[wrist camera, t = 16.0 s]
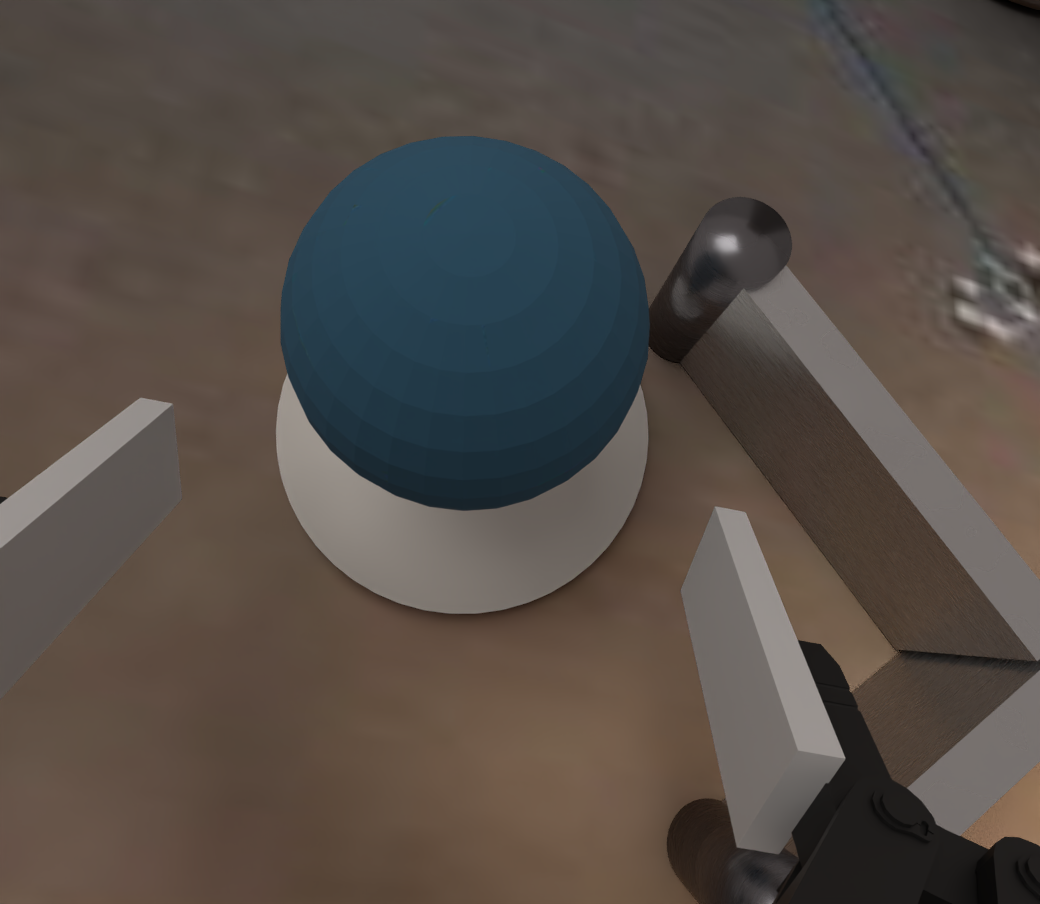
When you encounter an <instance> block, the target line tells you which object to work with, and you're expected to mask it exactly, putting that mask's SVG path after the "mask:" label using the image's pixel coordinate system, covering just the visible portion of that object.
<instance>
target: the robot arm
mask: <svg viewBox="0 0 1040 904" xmlns="http://www.w3.org/2000/svg"><path fill="white" fill-rule="evenodd" d="M181 500H182V491H181V481H180V471H179V460H178V450H177V440H176V429H175V419H174V409H173V404H171V403H166V402H160V401H155V400H150V399H144V398H139V399H138V400H137V401H135V402H134V403H133V404H131V405H130V406H129V407H127V408H126V409H125V410H124V411H122V412H121V413H120V414H118V415H117V416H116V417H114V418H113V419H112V420H110V421H109V422H108V423H106V424H105V425H104V426H102V427H101V428H100V429H99V430H97V431H96V432H95V433H93V434H92V435H91V436H89V437H88V438H87V439H85V440H84V441H83V442H81V443H80V444H79V445H77V446H76V447H75V448H73V449H72V450H71V451H70V452H68V453H67V454H66V455H64V456H63V457H62V458H60V459H59V460H58V461H56V462H55V463H54V464H52V465H51V466H50V467H48V468H47V469H46V470H44V471H43V472H42V473H41V474H39V475H38V476H37V477H35V478H34V479H33V480H31V481H30V482H29V483H27V484H26V485H25V486H23V487H22V488H21V489H19V490H18V491H17V492H16V493H14V494H13V495H12V496H10V497H9V498H6V497H0V700H1V699H2V697H3V696H4V695H5V694H6V693H7V692H8V691H9V690H10V689H11V687H12V686H13V685H14V684H15V683H16V682H17V681H18V680H19V679H20V678H21V676H22V675H23V674H24V673H25V672H26V671H27V670H28V669H29V668H30V666H31V665H32V664H33V663H34V662H35V661H36V660H37V659H38V658H39V657H40V655H41V654H42V653H43V652H44V651H45V650H46V649H47V648H48V647H49V646H50V644H51V643H52V642H53V641H54V640H55V639H56V638H57V637H58V636H59V634H60V633H61V632H62V631H63V630H64V629H65V628H66V627H67V626H68V625H69V623H70V622H71V621H72V620H73V619H74V618H75V617H76V616H77V615H78V613H79V612H80V611H81V610H82V609H83V608H84V607H85V606H86V605H87V604H88V602H89V601H90V600H91V599H92V598H93V597H94V596H95V595H96V594H97V593H98V591H99V590H100V589H101V588H102V587H103V586H104V585H105V584H106V583H107V581H108V580H109V579H110V578H111V577H112V576H113V575H114V574H115V573H116V572H117V570H118V569H119V568H120V567H121V566H122V565H123V564H124V563H125V562H126V560H127V559H128V558H129V557H130V556H131V555H132V554H133V553H134V552H135V551H136V549H137V548H138V547H139V546H140V545H141V544H142V543H143V542H144V541H145V539H146V538H147V537H148V536H149V535H150V534H151V533H152V532H153V531H154V530H155V528H156V527H157V526H158V525H159V524H160V523H161V522H162V521H163V520H164V519H165V517H166V516H167V515H168V514H169V513H170V512H171V511H172V510H173V509H174V507H175V506H176V505H177V504H178V503H179V502H180V501H181ZM681 595H682V600H683V604H684V609H685V613H686V618H687V622H688V627H689V632H690V636H691V641H692V645H693V650H694V654H695V659H696V664H697V668H698V673H699V677H700V682H701V686H702V691H703V696H704V700H705V705H706V709H707V714H708V718H709V723H710V727H711V732H712V737H713V741H714V746H715V750H716V755H717V759H718V764H719V769H720V773H721V778H722V782H723V787H724V791H725V796H726V801H727V805H728V810H729V814H730V819H731V823H732V828H733V833H734V837H735V842H736V846H737V847H738V848H744V849H750V850H756V851H762V852H767V853H773V854H779V853H780V852H781V851H782V849H783V848H784V846H785V845H786V843H787V842H788V841H789V839H790V838H791V836H793V840H794V843H795V846H796V850H797V853H798V857H799V860H798V861H797V863H796V864H795V866H794V867H793V868H792V870H791V871H790V872H789V874H788V875H787V876H786V878H785V879H784V881H783V882H782V883H781V885H780V886H779V887H778V889H777V890H776V891H777V892H778V894H777V896H776V898H775V900H774V901H773V903H772V904H1040V846H1038V845H1037V844H1034V843H1032V842H1029V841H1027V840H1024V839H1022V838H1019V837H1004V838H1002V839H1001V840H999V841H998V842H996V843H995V844H994V845H993V846H992V847H991V848H990V849H987V848H984V847H982V846H980V845H978V844H976V843H974V842H972V841H969V840H967V839H965V838H963V837H961V836H959V835H956V834H954V833H952V832H950V831H948V830H946V829H944V828H942V827H940V826H938V825H937V824H936V822H935V820H934V817H933V816H932V814H931V813H930V812H929V810H928V809H927V808H926V806H925V805H924V803H923V802H922V801H921V800H920V799H919V798H918V797H916V796H915V795H914V794H913V793H912V792H911V791H910V790H909V789H907V788H906V787H904V786H902V785H901V784H899V783H897V782H895V781H894V780H892V779H891V777H890V774H889V772H888V770H887V768H886V766H885V764H884V761H883V759H882V757H881V755H880V753H879V751H878V748H877V746H876V744H875V742H874V740H873V737H872V735H871V733H870V731H869V729H868V727H867V724H866V722H865V720H864V718H863V716H862V714H861V711H858V705H857V703H856V700H855V698H854V696H853V694H852V693H851V692H850V691H849V689H850V687H849V685H848V683H847V681H846V679H845V677H844V674H843V672H842V670H841V668H840V666H839V665H838V663H837V662H836V661H835V660H834V659H833V658H832V657H831V655H830V654H829V653H828V652H827V651H826V650H825V649H824V647H823V646H822V645H821V644H816V643H810V642H805V641H799V640H797V638H796V635H795V633H794V630H793V628H792V625H791V623H790V620H789V618H788V616H787V613H786V611H785V608H784V606H783V603H782V601H781V598H780V596H779V593H778V591H777V588H776V586H775V584H774V581H773V579H772V576H771V574H770V571H769V569H768V566H767V564H766V561H765V559H764V556H763V554H762V552H761V549H760V547H759V544H758V542H757V539H756V537H755V534H754V532H753V529H752V527H751V524H750V522H749V520H748V517H747V515H746V512H742V511H737V510H732V509H726V508H721V507H716V506H715V507H714V510H713V512H712V515H711V517H710V520H709V522H708V524H707V527H706V529H705V532H704V534H703V537H702V539H701V542H700V544H699V546H698V549H697V551H696V554H695V556H694V559H693V561H692V564H691V566H690V569H689V571H688V573H687V576H686V578H685V581H684V583H683V586H682V588H681Z"/></svg>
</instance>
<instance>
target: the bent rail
mask: <svg viewBox="0 0 1040 904" xmlns="http://www.w3.org/2000/svg"><path fill="white" fill-rule="evenodd" d="M791 250H792V240H791V235H790V231H789V229H788V227H787V225H786V223H785V221H784V220H783V219H782V217H781V216H780V215H779V214H778V213H777V212H776V211H775V210H774V209H772V208H771V207H770V206H768V205H766V204H765V203H763V202H760V201H758V200H755V199H751V198H745V197H735V198H729V199H726V200H723V201H721V202H719V203H717V204H715V205H714V206H713V207H712V208H711V209H710V210H709V211H708V212H707V213H706V215H705V216H704V218H703V220H702V221H701V223H700V225H699V226H698V228H697V230H696V231H695V233H694V235H693V236H692V238H691V240H690V241H689V243H688V245H687V246H686V248H685V250H684V251H683V253H682V255H681V256H680V258H679V260H678V261H677V263H676V265H675V266H674V268H673V270H672V271H671V273H670V275H669V276H668V278H667V280H666V281H665V283H664V285H663V286H662V288H661V289H660V291H659V293H658V294H657V296H656V298H655V299H654V301H653V303H652V304H651V306H650V308H649V321H650V330H649V346H650V347H651V348H652V350H653V351H654V352H656V353H657V354H658V355H659V356H661V357H662V358H664V359H666V360H669V361H672V362H678V363H681V365H682V366H683V367H684V369H685V370H686V371H687V373H688V374H689V375H690V377H691V378H692V379H693V381H694V382H695V383H696V385H697V386H698V387H699V389H700V390H701V391H702V393H703V394H704V395H705V397H706V398H707V399H708V401H709V402H710V403H711V405H712V406H713V407H714V409H715V410H716V411H717V413H718V414H719V415H720V417H721V418H722V419H723V421H724V422H725V423H726V425H727V426H728V427H729V429H730V430H731V431H732V433H733V434H734V435H735V437H736V438H737V439H738V441H739V442H740V443H741V445H742V446H743V447H744V449H745V450H746V451H747V453H748V454H749V455H750V457H751V458H752V459H753V461H754V462H755V463H756V465H757V466H758V467H759V469H760V470H761V471H762V473H763V474H764V475H765V477H766V478H767V479H768V481H769V482H770V483H771V485H772V486H773V487H774V489H775V490H776V491H777V493H778V494H779V495H780V497H781V498H782V499H783V501H784V502H785V503H786V505H787V506H788V507H789V509H790V510H791V511H792V513H793V514H794V515H795V517H796V518H797V519H798V521H799V522H800V523H801V525H802V526H803V527H804V529H805V530H806V531H807V533H808V534H809V535H810V537H811V538H812V539H813V541H814V542H815V543H816V545H817V546H818V547H819V549H820V550H821V551H822V553H823V554H824V555H825V557H826V558H827V559H828V561H829V562H830V563H831V565H832V566H833V567H834V569H835V570H836V571H837V573H838V574H839V575H840V577H841V578H842V579H843V581H844V582H845V583H846V585H847V586H848V587H849V589H850V590H851V591H852V593H853V594H854V595H855V597H856V598H857V599H858V601H859V602H860V603H861V605H862V606H863V607H864V609H865V610H866V611H867V613H868V614H869V615H870V617H871V618H872V619H873V621H874V622H875V623H876V625H877V626H878V627H879V629H880V630H881V631H882V633H883V634H884V635H885V637H886V638H887V639H888V641H889V642H890V643H891V645H892V646H893V647H894V649H896V650H903V651H902V652H901V653H900V654H898V655H897V656H896V657H895V658H894V659H892V660H891V661H890V662H889V663H888V664H886V665H885V666H884V667H883V668H882V669H880V670H879V671H878V672H877V673H876V674H874V675H873V676H872V677H871V678H870V679H868V680H867V681H866V682H865V683H864V684H862V685H861V686H860V687H859V688H857V689H856V690H855V691H854V692H853V693H852V694H853V696H854V698H855V700H856V703H857V705H858V711H861V714H862V716H863V718H864V720H865V722H866V724H867V727H868V729H869V731H870V733H871V735H872V737H873V740H874V742H875V744H876V746H877V748H878V751H879V753H880V755H881V757H882V759H883V761H884V764H885V766H886V768H887V770H888V772H889V774H890V777H891V779H892V780H894V781H895V782H897V783H899V784H901V785H902V786H904V787H906V788H907V789H909V790H910V791H911V792H912V793H913V794H914V795H915V796H916V797H918V798H919V799H920V800H921V801H922V802H923V803H924V805H925V806H926V808H927V809H928V810H929V812H930V813H931V814H932V816H933V817H934V820H935V822H936V824H937V825H938V826H940V827H942V828H944V829H946V830H948V831H950V832H952V833H954V834H956V835H959V836H960V835H961V834H962V833H963V832H965V831H966V830H967V829H968V828H969V827H970V826H971V825H972V824H973V823H974V822H975V821H976V820H977V819H978V818H980V817H981V816H982V815H983V814H984V813H985V812H986V811H987V810H988V809H989V808H990V807H991V806H992V805H994V804H995V803H996V802H997V801H998V800H999V799H1000V798H1001V797H1002V796H1003V795H1004V794H1005V793H1006V792H1007V791H1009V790H1010V789H1011V788H1012V787H1013V786H1014V785H1015V784H1016V783H1017V782H1018V781H1019V780H1020V779H1021V778H1023V777H1024V776H1025V775H1026V774H1027V773H1028V772H1029V771H1030V770H1031V769H1032V768H1033V767H1034V766H1035V765H1036V764H1038V763H1039V762H1040V580H1039V579H1038V578H1037V577H1036V575H1035V574H1034V573H1033V572H1032V570H1031V569H1030V568H1029V567H1028V565H1027V564H1026V563H1025V562H1024V560H1023V559H1022V558H1021V557H1020V555H1019V554H1018V553H1017V552H1016V550H1015V549H1014V548H1013V547H1012V545H1011V544H1010V543H1009V542H1008V541H1007V539H1006V538H1005V537H1004V536H1003V534H1002V533H1001V532H1000V531H999V529H998V528H997V527H996V526H995V524H994V523H993V522H992V521H991V519H990V518H989V517H988V516H987V514H986V513H985V512H984V511H983V509H982V508H981V507H980V506H979V504H978V503H977V502H976V501H975V500H974V498H973V497H972V496H971V495H970V493H969V492H968V491H967V490H966V488H965V487H964V486H963V485H962V483H961V482H960V481H959V480H958V478H957V477H956V476H955V475H954V473H953V472H952V471H951V470H950V468H949V467H948V466H947V465H946V463H945V462H944V461H943V460H942V458H941V457H940V456H939V455H938V454H937V452H936V451H935V450H934V449H933V447H932V446H931V445H930V444H929V442H928V441H927V440H926V439H925V437H924V436H923V435H922V434H921V432H920V431H919V430H918V429H917V427H916V426H915V425H914V424H913V422H912V421H911V420H910V419H909V417H908V416H907V415H906V414H905V413H904V411H903V410H902V409H901V408H900V406H899V405H898V404H897V403H896V401H895V400H894V399H893V398H892V396H891V395H890V394H889V393H888V391H887V390H886V389H885V388H884V386H883V385H882V384H881V383H880V381H879V380H878V379H877V378H876V376H875V375H874V374H873V373H872V372H871V370H870V369H869V368H868V367H867V365H866V364H865V363H864V362H863V360H862V359H861V358H860V357H859V355H858V354H857V353H856V352H855V350H854V349H853V348H852V347H851V345H850V344H849V343H848V342H847V340H846V339H845V338H844V337H843V335H842V334H841V333H840V332H839V331H838V329H837V328H836V327H835V326H834V324H833V323H832V322H831V321H830V319H829V318H828V317H827V316H826V314H825V313H824V312H823V311H822V309H821V308H820V307H819V306H818V304H817V303H816V302H815V301H814V299H813V298H812V297H811V296H810V294H809V293H808V292H807V291H806V289H805V288H804V287H803V286H802V285H801V283H800V282H799V281H798V280H797V278H796V277H795V276H794V275H793V273H792V272H791V271H790V270H789V268H788V267H787V266H786V264H787V262H788V260H789V258H790V255H791ZM667 852H668V857H669V861H670V864H671V866H672V869H673V870H674V872H675V874H676V875H677V877H678V878H679V879H680V881H681V882H682V883H683V884H684V886H685V887H686V888H687V889H688V890H689V892H690V893H691V894H692V895H693V897H694V898H695V899H696V900H697V902H698V903H699V904H772V903H773V901H774V900H775V898H776V896H777V894H778V892H777V891H776V890H777V889H778V887H779V886H780V885H781V883H782V882H783V881H784V879H785V878H786V876H787V875H788V874H789V872H790V871H791V870H792V868H793V867H794V866H795V864H796V863H797V861H798V860H799V857H798V853H797V850H796V846H795V843H794V840H793V836H791V838H790V839H789V841H788V842H787V843H786V845H785V846H784V848H783V849H782V851H781V852H780V853H779V854H773V853H767V852H762V851H756V850H750V849H744V848H738V847H737V846H736V842H735V837H734V833H733V828H732V823H731V819H730V814H729V810H728V805H727V801H726V798H725V799H724V800H722V801H719V800H715V799H699V800H696V801H693V802H691V803H689V804H687V805H686V806H684V807H683V808H682V809H681V810H680V811H679V812H678V813H677V815H676V816H675V818H674V819H673V821H672V823H671V825H670V828H669V832H668V837H667Z"/></svg>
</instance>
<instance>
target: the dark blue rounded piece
mask: <svg viewBox="0 0 1040 904" xmlns="http://www.w3.org/2000/svg"><path fill="white" fill-rule="evenodd" d="M649 330H650V321H649V308H648V301H647V294H646V287H645V280H644V276H643V273H642V270H641V267H640V265H639V262H638V259H637V256H636V254H635V251H634V248H633V246H632V244H631V243H630V241H629V239H628V238H627V236H626V234H625V233H624V231H623V229H622V228H621V226H620V224H619V223H618V221H617V219H616V218H615V216H614V215H613V213H612V211H611V210H610V208H609V207H608V206H607V205H606V204H605V202H604V201H603V200H602V199H601V198H600V197H599V196H598V195H597V193H596V192H595V191H594V190H593V189H592V188H591V187H590V186H589V185H588V184H587V183H586V182H584V181H583V180H582V179H581V178H579V177H578V176H577V175H575V174H574V173H573V172H572V171H570V170H569V169H568V168H566V167H565V166H564V165H562V164H560V163H558V162H556V161H554V160H552V159H550V158H549V157H547V156H545V155H543V154H541V153H539V152H537V151H535V150H532V149H529V148H526V147H523V146H520V145H516V144H513V143H510V142H507V141H502V140H496V139H489V138H482V137H476V136H458V137H439V138H434V139H429V140H423V141H418V142H413V143H409V144H406V145H404V146H401V147H399V148H396V149H393V150H391V151H388V152H385V153H383V154H380V155H379V156H377V157H375V158H374V159H372V160H370V161H369V162H367V163H365V164H364V165H362V166H361V167H359V168H357V169H356V170H354V171H353V172H352V173H351V174H349V175H348V176H347V177H346V178H345V179H344V180H343V181H342V182H341V183H339V184H338V185H337V186H336V187H335V188H334V189H333V190H332V191H331V192H330V193H329V194H328V196H327V197H326V198H325V200H324V201H323V202H322V204H321V205H320V206H319V208H318V209H317V210H316V212H315V213H314V214H313V216H312V217H311V219H310V220H309V222H308V223H307V225H306V226H305V227H304V229H303V231H302V233H301V235H300V237H299V240H298V242H297V244H296V246H295V248H294V250H293V253H292V255H291V257H290V259H289V263H288V267H287V272H286V277H285V281H284V286H283V290H282V299H281V346H282V351H283V355H284V360H285V364H286V369H287V373H288V377H289V380H290V382H291V384H292V387H293V389H294V391H295V393H296V395H297V398H298V400H299V402H300V404H301V406H302V408H303V410H304V413H305V415H306V417H307V419H308V421H309V423H310V424H311V426H312V427H313V428H314V430H315V431H316V432H317V434H318V435H319V436H320V437H321V439H322V440H323V441H324V443H325V444H326V445H327V447H328V448H329V449H330V451H331V452H333V453H334V454H335V455H336V456H337V457H338V458H339V459H341V460H342V461H343V462H344V463H345V464H346V465H348V466H349V467H350V468H351V469H352V470H353V471H354V472H356V473H357V474H358V475H360V476H361V477H363V478H365V479H367V480H368V481H370V482H372V483H374V484H375V485H377V486H379V487H381V488H383V489H384V490H386V491H388V492H390V493H391V494H393V495H395V496H397V497H400V498H403V499H407V500H410V501H413V502H416V503H419V504H422V505H425V506H428V507H435V508H443V509H451V510H459V511H470V510H484V509H497V508H501V507H505V506H509V505H512V504H516V503H520V502H523V501H527V500H530V499H533V498H535V497H537V496H539V495H541V494H543V493H545V492H547V491H549V490H551V489H553V488H554V487H556V486H558V485H560V484H562V483H564V482H566V481H568V480H569V479H570V478H571V477H573V476H574V475H575V474H577V473H578V472H579V471H580V470H582V469H583V468H584V467H585V466H587V465H588V464H589V463H590V462H592V461H593V460H594V459H595V458H596V457H597V456H598V455H599V454H600V452H601V451H602V450H603V449H604V448H605V447H606V445H607V444H608V443H609V442H610V441H611V439H612V438H613V437H614V436H615V435H616V433H617V432H618V430H619V428H620V426H621V424H622V423H623V421H624V419H625V417H626V415H627V413H628V411H629V409H630V408H631V406H632V404H633V402H634V399H635V397H636V395H637V393H638V390H639V387H640V383H641V380H642V376H643V373H644V369H645V366H646V362H647V359H648V345H649Z"/></svg>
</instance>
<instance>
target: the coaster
mask: <svg viewBox="0 0 1040 904" xmlns="http://www.w3.org/2000/svg"><path fill="white" fill-rule="evenodd" d="M276 444H277V458H278V463H279V468H280V473H281V478H282V482H283V485H284V488H285V490H286V493H287V496H288V499H289V502H290V504H291V506H292V508H293V510H294V512H295V514H296V516H297V518H298V520H299V522H300V524H301V525H302V527H303V528H304V530H305V531H306V532H307V534H308V535H309V537H310V538H311V540H312V541H313V542H314V544H315V545H316V546H317V547H318V548H319V550H320V551H321V552H322V553H323V554H324V555H325V556H326V557H327V558H328V559H329V560H330V561H331V562H332V563H333V564H334V565H335V566H336V567H338V568H339V569H340V570H341V571H343V572H344V573H345V574H346V575H348V576H349V577H350V578H351V579H353V580H354V581H356V582H357V583H359V584H361V585H362V586H364V587H366V588H367V589H369V590H371V591H372V592H374V593H376V594H378V595H381V596H383V597H385V598H388V599H390V600H392V601H395V602H397V603H399V604H403V605H407V606H411V607H414V608H418V609H422V610H426V611H434V612H441V613H449V614H477V613H484V612H492V611H499V610H504V609H508V608H511V607H515V606H518V605H522V604H525V603H528V602H531V601H533V600H535V599H538V598H540V597H542V596H545V595H547V594H549V593H551V592H553V591H555V590H556V589H558V588H560V587H561V586H563V585H565V584H566V583H568V582H570V581H571V580H573V579H574V578H575V577H576V576H578V575H579V574H580V573H581V572H583V571H584V570H585V569H586V568H588V567H589V566H590V565H591V564H592V563H593V562H594V561H595V560H596V559H597V558H598V557H599V556H600V555H601V554H602V553H603V552H604V551H605V550H606V549H607V547H608V546H609V545H610V544H611V542H612V541H613V539H614V538H615V537H616V535H617V534H618V532H619V531H620V530H621V528H622V527H623V525H624V523H625V521H626V519H627V517H628V515H629V514H630V512H631V510H632V508H633V506H634V503H635V501H636V498H637V495H638V492H639V490H640V487H641V484H642V480H643V475H644V471H645V466H646V462H647V450H648V420H647V411H646V406H645V401H644V395H643V391H642V388H641V385H640V387H639V390H638V393H637V395H636V397H635V399H634V402H633V404H632V406H631V408H630V409H629V411H628V413H627V415H626V417H625V419H624V421H623V423H622V424H621V426H620V428H619V430H618V432H617V433H616V435H615V436H614V437H613V438H612V439H611V441H610V442H609V443H608V444H607V445H606V447H605V448H604V449H603V450H602V451H601V452H600V454H599V455H598V456H597V457H596V458H595V459H594V460H593V461H592V462H590V463H589V464H588V465H587V466H585V467H584V468H583V469H582V470H580V471H579V472H578V473H577V474H575V475H574V476H573V477H571V478H570V479H569V480H568V481H566V482H564V483H562V484H560V485H558V486H556V487H554V488H553V489H551V490H549V491H547V492H545V493H543V494H541V495H539V496H537V497H535V498H533V499H530V500H527V501H523V502H520V503H516V504H512V505H509V506H505V507H501V508H497V509H484V510H470V511H459V510H451V509H443V508H435V507H428V506H425V505H422V504H419V503H416V502H413V501H410V500H407V499H403V498H400V497H397V496H395V495H393V494H391V493H390V492H388V491H386V490H384V489H383V488H381V487H379V486H377V485H375V484H374V483H372V482H370V481H368V480H367V479H365V478H363V477H361V476H360V475H358V474H357V473H356V472H354V471H353V470H352V469H351V468H350V467H349V466H348V465H346V464H345V463H344V462H343V461H342V460H341V459H339V458H338V457H337V456H336V455H335V454H334V453H333V452H331V451H330V449H329V448H328V447H327V445H326V444H325V443H324V441H323V440H322V439H321V437H320V436H319V435H318V434H317V432H316V431H315V430H314V428H313V427H312V426H311V424H310V423H309V421H308V419H307V417H306V415H305V413H304V410H303V408H302V406H301V404H300V402H299V400H298V398H297V395H296V393H295V391H294V389H293V387H292V384H291V382H290V380H289V377H288V374H287V376H286V379H285V382H284V384H283V388H282V392H281V397H280V401H279V406H278V413H277V424H276Z"/></svg>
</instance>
